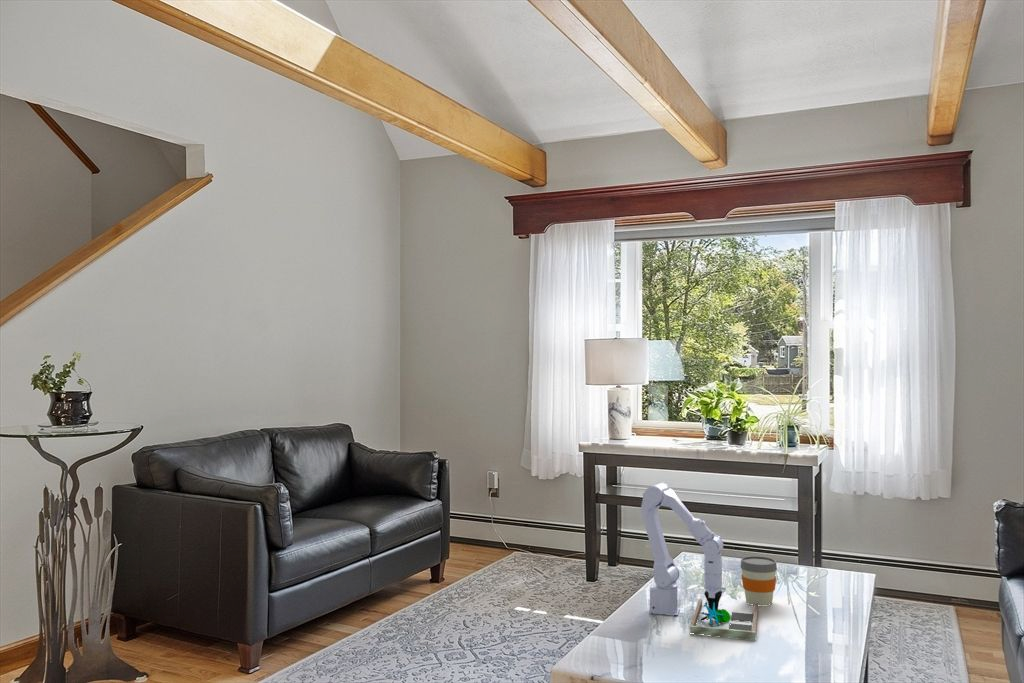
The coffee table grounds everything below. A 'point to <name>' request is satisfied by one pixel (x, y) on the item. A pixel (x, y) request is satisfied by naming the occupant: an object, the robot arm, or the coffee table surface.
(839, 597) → the coffee table surface
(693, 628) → the channel box
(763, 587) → the reusable coffee cup
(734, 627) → the mats
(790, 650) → the coffee table surface
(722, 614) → the stick construction toy
